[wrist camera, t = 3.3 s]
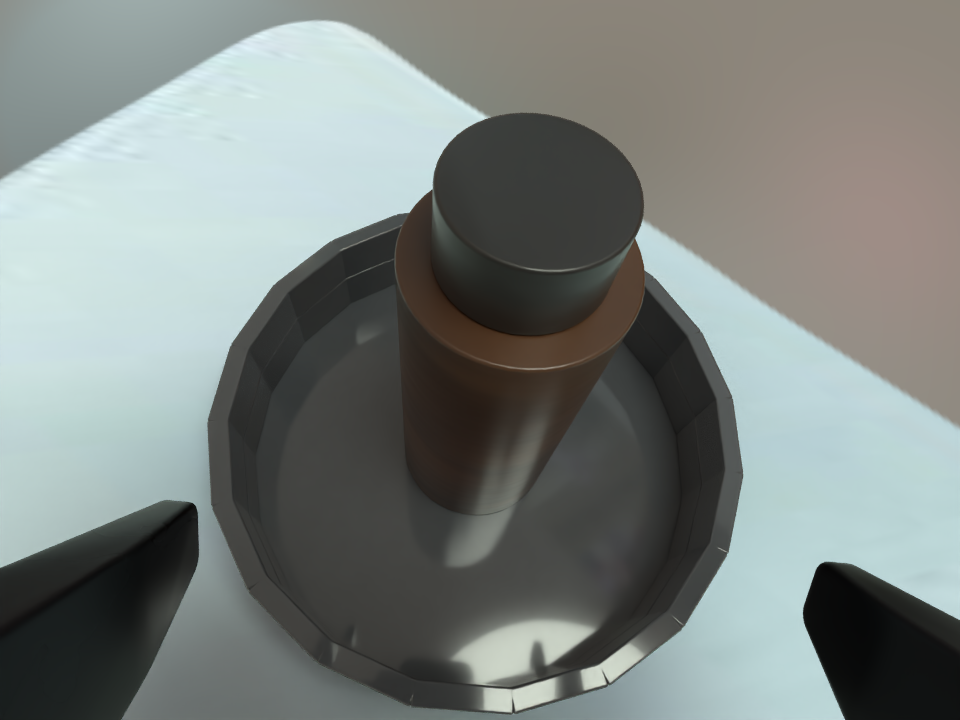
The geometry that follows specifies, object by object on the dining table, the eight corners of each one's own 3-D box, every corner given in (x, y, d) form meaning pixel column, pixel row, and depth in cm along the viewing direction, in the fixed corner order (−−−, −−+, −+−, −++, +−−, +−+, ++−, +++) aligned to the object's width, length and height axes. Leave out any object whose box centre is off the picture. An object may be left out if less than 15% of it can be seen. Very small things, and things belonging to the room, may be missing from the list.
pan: (725, 356, 25) (776, 304, 21) (623, 800, 17) (676, 832, 14) (374, 220, 27) (368, 151, 23) (143, 574, 19) (81, 551, 16)
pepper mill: (561, 413, 22) (712, 140, 11) (515, 539, 20) (645, 360, 9) (439, 363, 23) (461, 52, 11) (380, 480, 21) (333, 238, 9)
